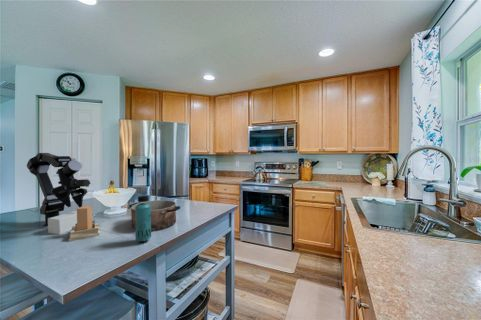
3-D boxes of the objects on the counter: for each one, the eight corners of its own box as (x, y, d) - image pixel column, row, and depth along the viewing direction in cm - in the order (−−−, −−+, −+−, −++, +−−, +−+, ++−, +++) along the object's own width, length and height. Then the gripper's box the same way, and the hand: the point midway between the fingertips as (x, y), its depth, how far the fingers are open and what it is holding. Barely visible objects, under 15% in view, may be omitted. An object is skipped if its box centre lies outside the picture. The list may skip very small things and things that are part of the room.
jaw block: (82, 231, 97) (81, 206, 96) (92, 230, 97) (91, 206, 97) (77, 234, 92) (76, 208, 92) (87, 233, 93) (87, 208, 93)
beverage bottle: (135, 246, 83) (134, 198, 83) (135, 239, 89) (134, 195, 89) (152, 242, 86) (151, 196, 86) (151, 237, 92) (150, 194, 92)
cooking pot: (115, 228, 104) (115, 207, 103) (147, 215, 125) (147, 198, 124) (163, 235, 94) (163, 213, 94) (189, 220, 115) (189, 202, 115)
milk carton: (59, 219, 95) (95, 208, 114) (47, 218, 96) (85, 208, 115) (59, 234, 95) (95, 221, 114) (47, 233, 97) (85, 220, 115)
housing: (71, 231, 99) (71, 223, 99) (98, 226, 105) (98, 219, 105) (68, 241, 87) (68, 232, 87) (99, 235, 94) (99, 227, 94)
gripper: (73, 169, 96) (82, 199, 94) (93, 175, 114) (101, 201, 111) (46, 178, 93) (55, 209, 91) (71, 183, 111) (79, 209, 109)
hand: (75, 207), depth 100 cm, fingers open, 9 cm apart
